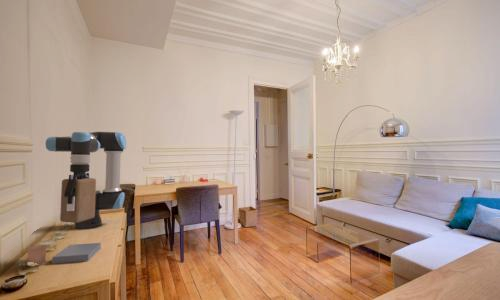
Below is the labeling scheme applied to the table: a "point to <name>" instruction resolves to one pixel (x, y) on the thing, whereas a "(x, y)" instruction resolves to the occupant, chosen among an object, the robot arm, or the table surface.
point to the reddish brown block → (37, 254)
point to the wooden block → (79, 201)
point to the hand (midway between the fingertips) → (78, 207)
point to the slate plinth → (76, 253)
